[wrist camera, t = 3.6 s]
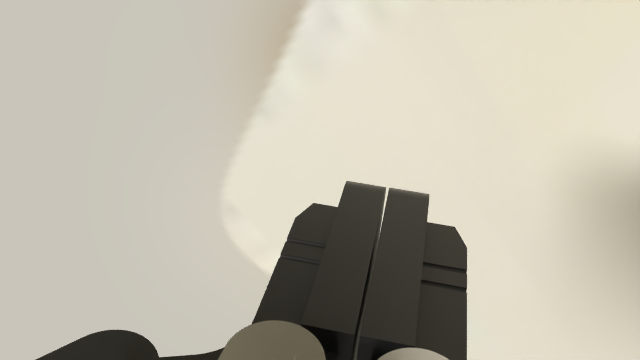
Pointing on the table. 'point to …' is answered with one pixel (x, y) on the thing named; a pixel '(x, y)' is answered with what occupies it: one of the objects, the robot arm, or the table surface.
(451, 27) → the table surface
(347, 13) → the table surface
